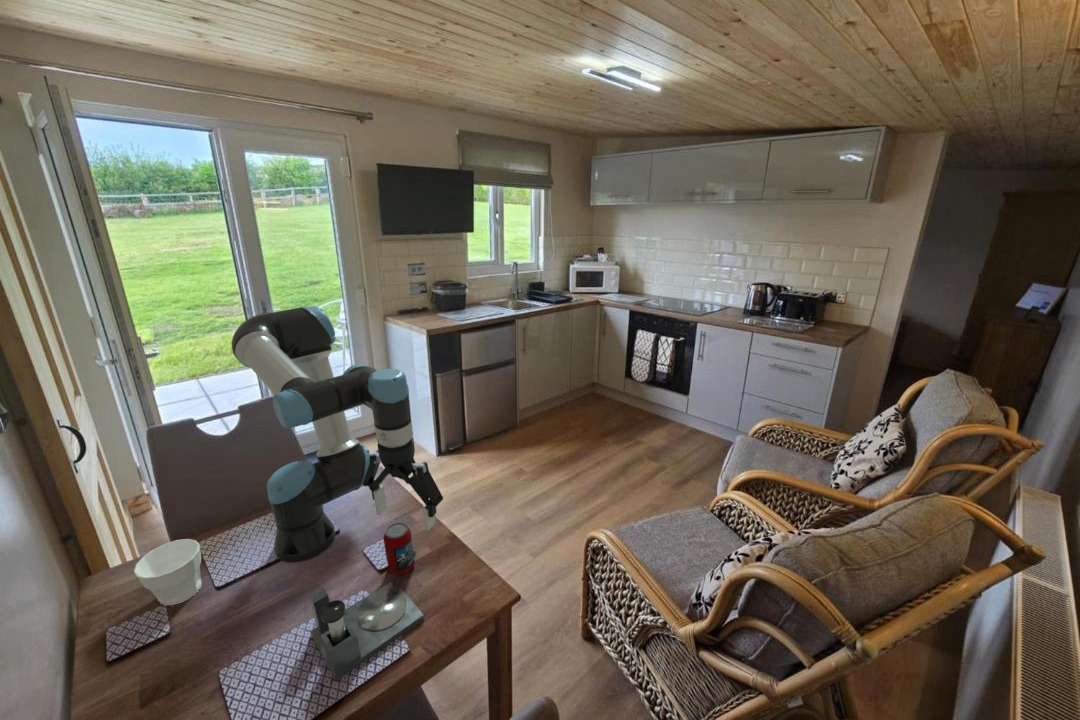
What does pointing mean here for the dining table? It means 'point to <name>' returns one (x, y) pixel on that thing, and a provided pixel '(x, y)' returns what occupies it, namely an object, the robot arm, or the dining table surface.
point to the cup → (171, 571)
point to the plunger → (335, 620)
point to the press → (364, 626)
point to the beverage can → (399, 548)
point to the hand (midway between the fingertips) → (405, 518)
